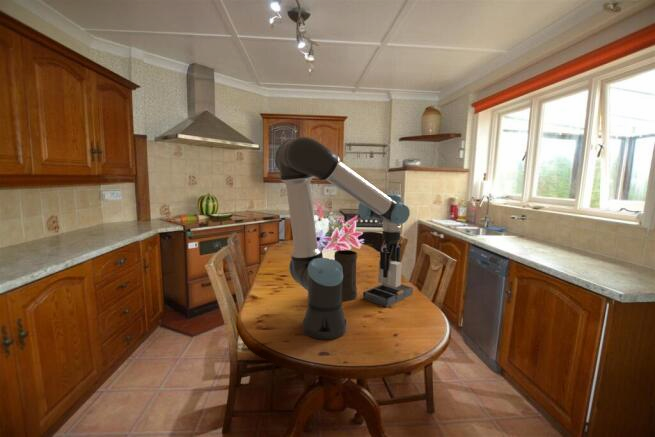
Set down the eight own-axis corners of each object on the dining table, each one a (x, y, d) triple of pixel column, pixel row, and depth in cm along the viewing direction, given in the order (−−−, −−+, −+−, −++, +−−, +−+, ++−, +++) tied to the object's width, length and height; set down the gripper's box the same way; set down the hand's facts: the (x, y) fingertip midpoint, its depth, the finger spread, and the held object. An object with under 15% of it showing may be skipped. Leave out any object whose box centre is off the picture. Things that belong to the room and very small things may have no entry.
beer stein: (355, 302, 127) (357, 254, 125) (330, 299, 129) (331, 253, 127) (358, 291, 142) (360, 248, 140) (336, 288, 144) (337, 247, 142)
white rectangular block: (395, 287, 128) (396, 264, 127) (378, 282, 135) (379, 260, 133) (400, 285, 131) (401, 262, 130) (383, 280, 137) (384, 258, 136)
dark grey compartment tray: (386, 307, 122) (387, 298, 122) (363, 298, 131) (363, 290, 130) (412, 294, 137) (413, 286, 136) (389, 286, 145) (390, 279, 144)
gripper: (387, 234, 121) (385, 290, 124) (409, 229, 133) (406, 280, 136) (372, 231, 126) (370, 285, 129) (394, 227, 138) (392, 276, 141)
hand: (389, 282), depth 133 cm, fingers closed on white rectangular block, 4 cm apart
